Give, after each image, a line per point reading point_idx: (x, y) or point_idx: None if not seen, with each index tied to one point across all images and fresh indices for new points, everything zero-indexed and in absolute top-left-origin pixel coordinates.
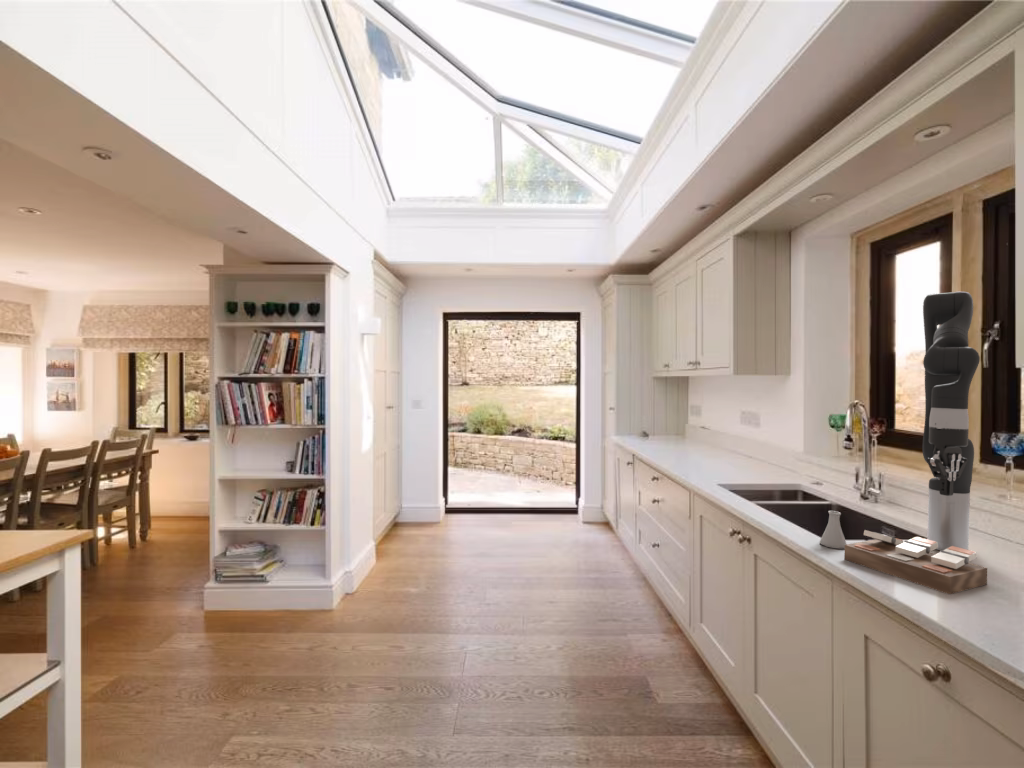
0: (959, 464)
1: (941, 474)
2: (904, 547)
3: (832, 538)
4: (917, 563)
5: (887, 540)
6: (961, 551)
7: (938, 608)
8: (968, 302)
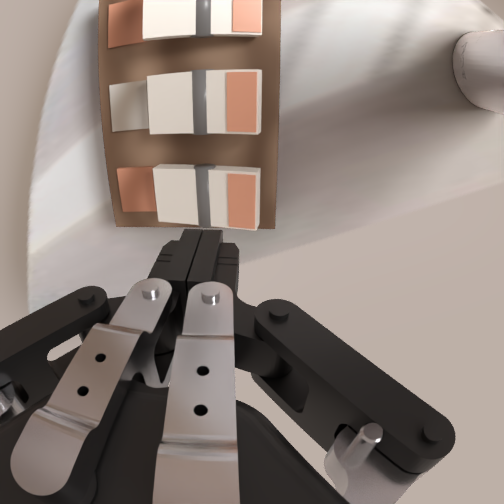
0: (330, 439)
1: (67, 353)
2: (157, 94)
3: None
4: (131, 148)
5: (168, 38)
6: (231, 206)
7: (60, 235)
8: None
